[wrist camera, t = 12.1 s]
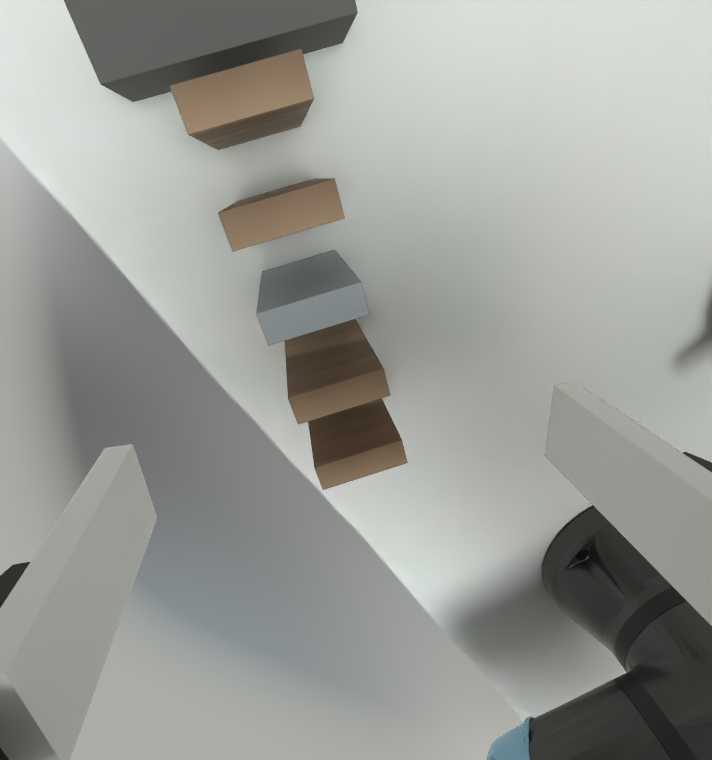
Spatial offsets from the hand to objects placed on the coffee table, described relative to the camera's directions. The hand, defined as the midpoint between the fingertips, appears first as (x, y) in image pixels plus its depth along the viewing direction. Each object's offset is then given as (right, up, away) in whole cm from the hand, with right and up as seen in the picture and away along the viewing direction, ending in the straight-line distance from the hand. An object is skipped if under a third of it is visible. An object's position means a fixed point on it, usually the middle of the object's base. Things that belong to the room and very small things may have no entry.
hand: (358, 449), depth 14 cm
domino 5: (-1, +2, +20) cm, 20 cm away
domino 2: (-5, +13, +14) cm, 20 cm away
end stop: (-7, +21, +10) cm, 24 cm away
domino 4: (-2, +5, +18) cm, 19 cm away
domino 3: (-4, +9, +16) cm, 18 cm away
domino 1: (-6, +17, +12) cm, 22 cm away
